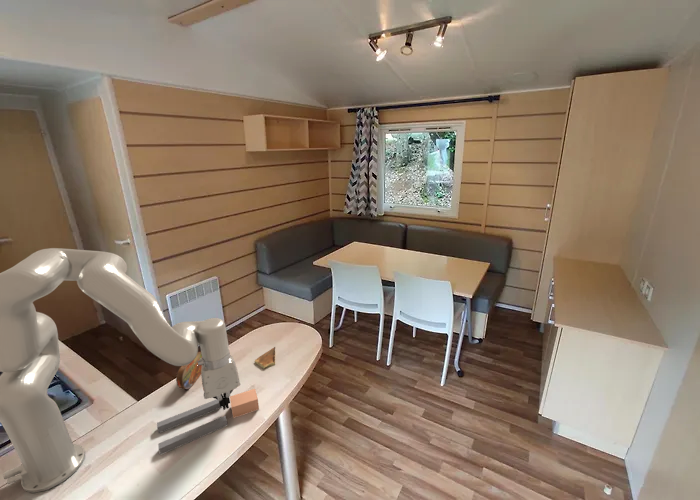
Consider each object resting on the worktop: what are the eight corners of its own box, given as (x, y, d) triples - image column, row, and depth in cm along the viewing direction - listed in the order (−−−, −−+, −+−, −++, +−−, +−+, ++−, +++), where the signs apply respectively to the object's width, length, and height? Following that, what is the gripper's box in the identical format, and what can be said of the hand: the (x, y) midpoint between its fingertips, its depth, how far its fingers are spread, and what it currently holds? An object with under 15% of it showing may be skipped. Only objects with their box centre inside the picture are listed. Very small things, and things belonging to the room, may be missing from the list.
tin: (186, 394, 110) (181, 374, 107) (177, 394, 110) (172, 374, 107) (208, 365, 124) (204, 347, 121) (200, 364, 124) (196, 346, 121)
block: (233, 418, 100) (231, 407, 99) (231, 407, 105) (229, 396, 103) (259, 409, 104) (257, 398, 102) (256, 399, 108) (255, 388, 106)
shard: (275, 349, 133) (274, 345, 133) (287, 356, 129) (287, 352, 128) (253, 363, 125) (253, 359, 125) (266, 371, 121) (266, 367, 120)
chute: (160, 454, 89) (158, 449, 88) (158, 428, 97) (156, 422, 96) (227, 425, 98) (226, 419, 97) (220, 403, 106) (219, 398, 105)
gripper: (191, 375, 88) (201, 425, 95) (245, 356, 96) (252, 404, 102) (187, 360, 94) (198, 408, 101) (239, 343, 102) (245, 389, 108)
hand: (225, 406), depth 101 cm, fingers closed
